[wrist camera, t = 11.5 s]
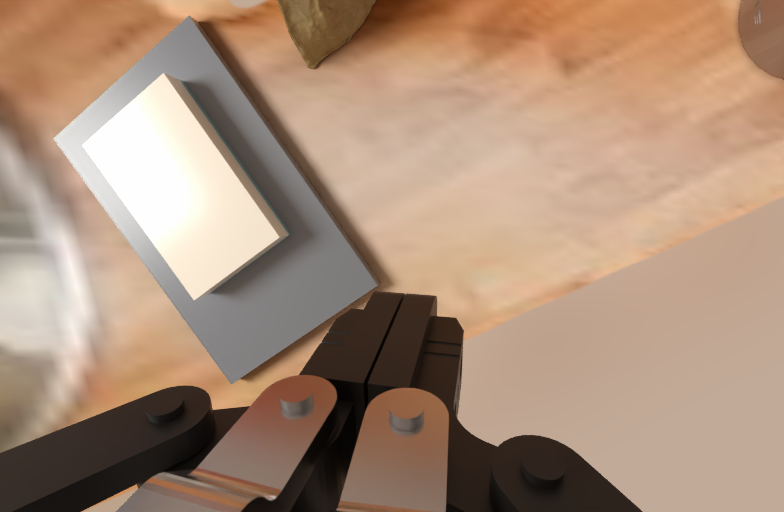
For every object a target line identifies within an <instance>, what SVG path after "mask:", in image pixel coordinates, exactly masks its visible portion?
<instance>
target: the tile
mask: <svg viewBox="0 0 784 512" xmlns="http://www.w3.org/2000/svg"><path fill="white" fill-rule="evenodd" d="M82 146H83V147H84V149H85V150H86V152H87V153H88V154H89V156H90V157H91V158H92V160H93V161H94V163H95V164H96V165H97V167H98V168H99V170H100V171H101V172H102V174H103V175H104V176H105V178H106V179H107V181H108V182H109V183H110V185H111V186H112V188H113V189H114V190H115V192H116V193H117V195H118V196H119V197H120V199H121V200H122V201H123V203H124V204H125V206H126V207H127V208H128V210H129V211H130V213H131V214H132V215H133V217H134V218H135V219H136V221H137V222H138V224H139V225H140V226H141V228H142V229H143V231H144V232H145V233H146V235H147V236H148V237H149V239H150V240H151V242H152V243H153V244H154V246H155V247H156V249H157V250H158V251H159V253H160V254H161V255H162V257H163V258H164V260H165V261H166V262H167V264H168V265H169V267H170V268H171V269H172V271H173V272H174V273H175V275H176V276H177V278H178V279H179V280H180V282H181V283H182V285H183V286H184V287H185V289H186V290H187V292H188V293H189V294H190V296H191V297H192V298H193V300H196V299H199V298H201V297H204V296H206V295H208V294H211V293H212V292H213V291H215V290H216V289H218V288H219V287H220V286H222V285H223V284H224V283H226V282H227V281H228V280H230V279H231V278H233V277H234V276H235V275H237V274H238V273H239V272H241V271H242V270H243V269H245V268H246V267H248V266H249V265H250V264H252V263H253V262H254V261H256V260H257V259H258V258H260V257H261V256H262V255H264V254H265V253H267V252H268V251H269V250H271V249H272V248H273V247H275V246H276V245H277V244H279V243H280V242H282V241H283V240H284V239H286V238H287V237H288V236H290V235H291V233H290V232H289V230H288V229H287V227H286V226H285V225H284V223H283V222H282V220H281V219H280V218H279V216H278V215H277V213H276V212H275V210H274V209H273V208H272V206H271V205H270V203H269V202H268V201H267V199H266V198H265V196H264V195H263V193H262V192H261V191H260V189H259V188H258V186H257V185H256V184H255V182H254V181H253V179H252V178H251V176H250V175H249V174H248V172H247V171H246V169H245V168H244V167H243V165H242V164H241V162H240V161H239V159H238V158H237V157H236V155H235V154H234V152H233V151H232V150H231V148H230V147H229V145H228V144H227V142H226V141H225V140H224V138H223V137H222V135H221V134H220V133H219V131H218V130H217V128H216V127H215V125H214V124H213V123H212V121H211V120H210V118H209V117H208V116H207V114H206V113H205V111H204V110H203V108H202V107H201V106H200V104H199V103H198V101H197V100H196V99H195V97H194V96H193V94H192V93H191V91H190V90H189V89H188V87H187V86H186V84H185V83H184V82H183V81H182V80H179V79H177V78H174V77H172V76H170V75H167V74H165V73H163V74H162V75H160V76H159V77H158V78H157V79H156V80H155V81H154V82H153V83H151V84H150V85H149V86H148V87H147V88H146V89H145V90H144V91H142V92H141V93H140V94H139V95H138V96H137V97H136V98H135V99H133V100H132V101H131V102H130V103H129V104H128V105H127V106H126V107H124V108H123V109H122V110H121V111H120V112H119V113H118V114H116V115H115V116H114V117H113V118H112V119H111V120H110V121H109V122H107V123H106V124H105V125H104V126H103V127H102V128H101V129H100V130H98V131H97V132H96V133H95V134H94V135H93V136H92V137H91V138H89V139H88V140H87V141H86V142H85V143H84V144H83V145H82Z"/></svg>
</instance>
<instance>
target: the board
mask: <svg viewBox="0 0 784 512" xmlns="http://www.w3.org/2000/svg"><path fill="white" fill-rule="evenodd" d="M163 73H165V74H167V75H170V76H172V77H174V78H177V79H179V80H182V81H183V82H184V83H185V84H186V86H187V87H188V89H189V90H190V91H191V93H192V94H193V96H194V97H195V99H196V100H197V101H198V103H199V104H200V106H201V107H202V108H203V110H204V111H205V113H206V114H207V116H208V117H209V118H210V120H211V121H212V123H213V124H214V125H215V127H216V128H217V130H218V131H219V133H220V134H221V135H222V137H223V138H224V140H225V141H226V142H227V144H228V145H229V147H230V148H231V150H232V151H233V152H234V154H235V155H236V157H237V158H238V159H239V161H240V162H241V164H242V165H243V167H244V168H245V169H246V171H247V172H248V174H249V175H250V176H251V178H252V179H253V181H254V182H255V184H256V185H257V186H258V188H259V189H260V191H261V192H262V193H263V195H264V196H265V198H266V199H267V201H268V202H269V203H270V205H271V206H272V208H273V209H274V210H275V212H276V213H277V215H278V216H279V218H280V219H281V220H282V222H283V223H284V225H285V226H286V227H287V229H288V230H289V232H290V233H291V235H290V236H288V237H287V238H286V239H284V240H283V241H282V242H280V243H279V244H277V245H276V246H275V247H273V248H272V249H271V250H269V251H268V252H267V253H265V254H264V255H262V256H261V257H260V258H258V259H257V260H256V261H254V262H253V263H252V264H250V265H249V266H248V267H246V268H245V269H243V270H242V271H241V272H239V273H238V274H237V275H235V276H234V277H233V278H231V279H230V280H228V281H227V282H226V283H224V284H223V285H222V286H220V287H219V288H218V289H216V290H215V291H213V292H212V293H211V294H208V295H206V296H204V297H201V298H199V299H196V300H193V298H192V297H191V296H190V294H189V293H188V292H187V290H186V289H185V287H184V286H183V285H182V283H181V282H180V280H179V279H178V278H177V276H176V275H175V273H174V272H173V271H172V269H171V268H170V267H169V265H168V264H167V262H166V261H165V260H164V258H163V257H162V255H161V254H160V253H159V251H158V250H157V249H156V247H155V246H154V244H153V243H152V242H151V240H150V239H149V237H148V236H147V235H146V233H145V232H144V231H143V229H142V228H141V226H140V225H139V224H138V222H137V221H136V219H135V218H134V217H133V215H132V214H131V213H130V211H129V210H128V208H127V207H126V206H125V204H124V203H123V201H122V200H121V199H120V197H119V196H118V195H117V193H116V192H115V190H114V189H113V188H112V186H111V185H110V183H109V182H108V181H107V179H106V178H105V176H104V175H103V174H102V172H101V171H100V170H99V168H98V167H97V165H96V164H95V163H94V161H93V160H92V158H91V157H90V156H89V154H88V153H87V152H86V150H85V149H84V147H83V146H82V145H83V144H84V143H85V142H86V141H87V140H88V139H89V138H91V137H92V136H93V135H94V134H95V133H96V132H97V131H98V130H100V129H101V128H102V127H103V126H104V125H105V124H106V123H107V122H109V121H110V120H111V119H112V118H113V117H114V116H115V115H116V114H118V113H119V112H120V111H121V110H122V109H123V108H124V107H126V106H127V105H128V104H129V103H130V102H131V101H132V100H133V99H135V98H136V97H137V96H138V95H139V94H140V93H141V92H142V91H144V90H145V89H146V88H147V87H148V86H149V85H150V84H151V83H153V82H154V81H155V80H156V79H157V78H158V77H159V76H160V75H162V74H163ZM53 139H54V140H55V142H56V143H57V144H58V146H59V147H60V149H61V150H62V151H63V153H64V154H65V155H66V157H67V158H68V160H69V161H70V162H71V164H72V165H73V166H74V168H75V169H76V171H77V172H78V173H79V175H80V176H81V178H82V179H83V180H84V182H85V183H86V184H87V186H88V187H89V189H90V190H91V191H92V193H93V194H94V195H95V197H96V198H97V200H98V201H99V202H100V204H101V205H102V207H103V208H104V209H105V211H106V212H107V213H108V215H109V216H110V218H111V219H112V220H113V222H114V223H115V224H116V226H117V227H118V229H119V230H120V231H121V233H122V234H123V236H124V237H125V238H126V240H127V241H128V242H129V244H130V245H131V247H132V248H133V249H134V251H135V252H136V253H137V255H138V256H139V258H140V259H141V260H142V262H143V263H144V265H145V266H146V267H147V269H148V270H149V271H150V273H151V274H152V276H153V277H154V278H155V280H156V281H157V282H158V284H159V285H160V287H161V288H162V289H163V291H164V292H165V294H166V295H167V296H168V298H169V299H170V300H171V302H172V303H173V305H174V306H175V307H176V309H177V310H178V311H179V313H180V314H181V316H182V317H183V318H184V320H185V321H186V323H187V324H188V325H189V327H190V328H191V329H192V331H193V332H194V334H195V335H196V336H197V338H198V339H199V340H200V342H201V343H202V345H203V346H204V347H205V349H206V350H207V352H208V353H209V354H210V356H211V357H212V358H213V360H214V361H215V363H216V364H217V365H218V367H219V368H220V369H221V371H222V372H223V374H224V375H225V376H226V378H227V379H228V381H229V382H230V383H231V384H233V383H234V382H236V381H237V380H239V379H240V378H242V377H243V376H244V375H246V374H247V373H249V372H250V371H252V370H253V369H255V368H256V367H258V366H259V365H261V364H262V363H264V362H265V361H267V360H268V359H270V358H271V357H273V356H274V355H276V354H277V353H279V352H280V351H282V350H283V349H285V348H286V347H287V346H289V345H290V344H292V343H293V342H295V341H296V340H298V339H299V338H301V337H302V336H304V335H305V334H307V333H308V332H310V331H311V330H313V329H314V328H316V327H317V326H319V325H320V324H322V323H323V322H325V321H326V320H327V319H329V318H330V317H332V316H333V315H335V314H336V313H338V312H339V311H341V310H342V309H344V308H345V307H347V306H348V305H350V304H351V303H353V302H354V301H356V300H357V299H359V298H360V297H362V296H363V295H365V294H366V293H368V292H369V291H370V290H372V289H373V288H375V287H376V286H378V285H379V283H380V282H379V280H378V279H377V277H376V276H375V275H374V273H373V272H372V270H371V269H370V267H369V266H368V265H367V263H366V262H365V260H364V259H363V257H362V256H361V255H360V253H359V252H358V250H357V249H356V247H355V246H354V245H353V243H352V242H351V240H350V239H349V237H348V236H347V235H346V233H345V232H344V230H343V229H342V227H341V226H340V225H339V223H338V222H337V220H336V219H335V217H334V216H333V215H332V213H331V212H330V210H329V209H328V207H327V206H326V205H325V203H324V202H323V200H322V199H321V197H320V196H319V195H318V193H317V192H316V190H315V189H314V187H313V186H312V185H311V183H310V182H309V180H308V179H307V177H306V176H305V175H304V173H303V172H302V170H301V169H300V167H299V166H298V165H297V163H296V162H295V160H294V159H293V157H292V156H291V155H290V153H289V152H288V150H287V149H286V147H285V146H284V145H283V143H282V142H281V140H280V139H279V137H278V136H277V135H276V133H275V132H274V130H273V129H272V127H271V126H270V125H269V123H268V122H267V120H266V119H265V117H264V116H263V114H262V113H261V112H260V110H259V109H258V107H257V106H256V104H255V103H254V102H253V100H252V99H251V97H250V96H249V94H248V93H247V92H246V90H245V89H244V87H243V86H242V84H241V83H240V82H239V80H238V79H237V77H236V76H235V74H234V73H233V72H232V70H231V69H230V67H229V66H228V64H227V63H226V62H225V60H224V59H223V57H222V56H221V54H220V53H219V52H218V50H217V49H216V47H215V46H214V44H213V43H212V42H211V40H210V39H209V37H208V36H207V34H206V33H205V32H204V30H203V29H202V27H201V26H200V24H199V23H198V22H197V21H196V20H194V19H193V18H192V17H190V16H188V17H187V18H186V19H185V20H184V21H182V22H181V23H180V24H179V25H178V26H177V27H176V28H175V29H174V30H173V31H171V32H170V33H169V34H168V35H167V36H166V37H165V38H164V39H163V40H162V41H160V42H159V43H158V44H157V45H156V46H155V47H154V48H153V49H152V50H150V51H149V52H148V53H147V54H146V55H145V56H144V57H143V58H142V59H141V60H139V61H138V62H137V63H136V64H135V65H134V66H133V67H132V68H131V69H130V70H128V71H127V72H126V73H125V74H124V75H123V76H122V77H121V78H120V79H118V80H117V81H116V82H115V83H114V84H113V85H112V86H111V87H110V88H109V89H107V90H106V91H105V92H104V93H103V94H102V95H101V96H100V97H99V98H98V99H96V100H95V101H94V102H93V103H92V104H91V105H90V106H89V107H88V108H87V109H85V110H84V111H83V112H82V113H81V114H80V115H79V116H78V117H77V118H75V119H74V120H73V121H72V122H71V123H70V124H69V125H68V126H67V127H66V128H64V129H63V130H62V131H61V132H60V133H59V134H58V135H57V136H56V137H55V138H53Z"/></svg>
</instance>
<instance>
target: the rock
mask: <svg viewBox="0 0 784 512" xmlns="http://www.w3.org/2000/svg"><path fill="white" fill-rule="evenodd" d="M277 1H278V4H279V8H280V10H281V12H282V14H283V17H284V20H285V23H286V25H287V28H288V32H289V34H290V36H291V38H292V40H293V41H294V43H295V45H296V46H297V48H298V50H299V51H300V53H301V55H302V57H303V59H304V60H305V62H306V64H307V67H308V68H310V69H315V68H316V66H317V64H318V63H319V62H320V60H322V59H323V58H325V57H326V56H328V55H329V54H330V53H331V52H332V51H334V50H337V49H339V48H340V47H341V46H342V45H343V44H344V43H346V42H349V41H350V39H351V37H352V36H353V34H354V33H355V32H356V31H357V30H358V29H359V27H361V26H362V24H363V23H364V21H365V18H366V17H367V16H368V15H369V13H370V11H371V7H372V6H373V4H374V3H375V1H376V0H277Z"/></svg>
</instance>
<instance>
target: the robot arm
mask: <svg viewBox="0 0 784 512" xmlns="http://www.w3.org/2000/svg"><path fill="white" fill-rule="evenodd" d="M738 24H739V34H740V38H741V41H742V45H743V47H744V49H745V50H746V52H747V54H748V56H749V58H750V59H751V60H752V61H753V62H754V63H755V64H756V65H757V66H758V67H759V68H761V69H762V70H764V71H765V72H767V73H768V74H770V75H772V76H775V77H778V78H780V79H783V80H784V0H742V1H741V4H740V10H739V16H738ZM463 333H464V330H463V329H462V327H461V325H460V324H459V322H458V320H457V319H456V318H450V317H439V316H437V297H436V296H431V295H419V294H406V295H405V294H404V293H393V292H380V291H375V292H374V293H373V295H372V296H371V298H370V300H369V301H368V303H367V305H366V307H365V308H364V310H361V309H351V310H349V311H348V312H346V313H345V314H343V315H342V316H340V317H338V318H337V319H336V321H335V322H334V324H333V325H332V327H331V328H330V330H329V333H327V334H326V336H325V337H324V339H323V340H322V343H320V345H319V346H318V348H317V349H316V350H315V352H314V353H313V355H312V356H311V358H310V359H309V361H308V362H307V364H306V365H305V367H304V368H303V370H302V371H301V373H300V374H299V375H298V376H292V377H288V378H285V379H282V380H279V381H277V382H275V383H274V384H272V385H270V386H269V387H268V388H266V389H265V390H264V391H263V392H262V393H261V394H260V396H259V397H258V398H257V399H256V400H255V401H254V403H253V404H252V405H251V406H247V407H239V408H229V409H219V410H213V409H212V404H211V400H210V396H209V394H208V393H207V392H206V391H205V390H203V389H201V388H198V387H194V386H176V387H170V388H166V389H163V390H160V391H157V392H155V393H152V394H149V395H147V396H144V397H142V398H139V399H137V400H134V401H132V402H129V403H127V404H124V405H121V406H119V407H116V408H114V409H111V410H109V411H106V412H104V413H101V414H99V415H96V416H94V417H91V418H88V419H86V420H83V421H81V422H78V423H76V424H73V425H71V426H68V427H66V428H63V429H60V430H58V431H55V432H53V433H50V434H48V435H45V436H43V437H40V438H38V439H35V440H33V441H30V442H27V443H25V444H22V445H20V446H17V447H15V448H12V449H10V450H7V451H5V452H2V453H0V512H81V511H83V510H85V509H87V508H89V507H91V506H93V505H95V504H97V503H99V502H101V501H103V500H105V499H107V498H109V497H111V496H113V495H115V494H117V493H119V492H121V491H123V490H125V489H127V488H129V487H132V486H134V485H136V484H137V486H138V490H137V491H136V492H135V493H134V494H133V495H132V496H131V497H130V498H129V499H128V500H127V501H126V502H125V503H124V504H123V505H122V506H121V507H120V508H119V509H118V510H117V511H116V512H642V511H641V510H640V509H639V508H638V507H637V506H636V505H635V504H633V503H632V502H631V501H630V500H629V499H628V498H626V497H625V496H624V495H623V494H622V493H621V492H620V491H619V490H618V489H617V488H616V487H614V486H613V485H612V484H611V483H610V482H609V481H608V480H607V479H605V478H604V477H603V476H602V475H601V474H600V473H599V472H598V471H596V470H595V469H594V468H593V467H592V466H591V465H590V464H589V463H587V462H586V461H585V460H584V459H583V458H582V457H581V456H580V455H578V454H577V453H576V452H575V451H573V450H572V449H571V448H569V447H567V446H566V445H564V444H562V443H560V442H558V441H555V440H553V439H550V438H546V437H541V436H534V435H522V436H516V437H513V438H510V439H508V440H506V441H504V442H503V443H502V444H500V445H499V446H498V447H497V446H494V445H492V444H490V443H487V442H485V441H483V440H481V439H479V438H477V437H475V436H474V435H472V434H471V433H470V432H468V431H467V430H466V429H465V428H464V427H463V426H462V425H461V424H460V422H459V421H458V419H457V414H458V407H459V397H460V389H461V376H462V354H463V353H462V352H463Z"/></svg>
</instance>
